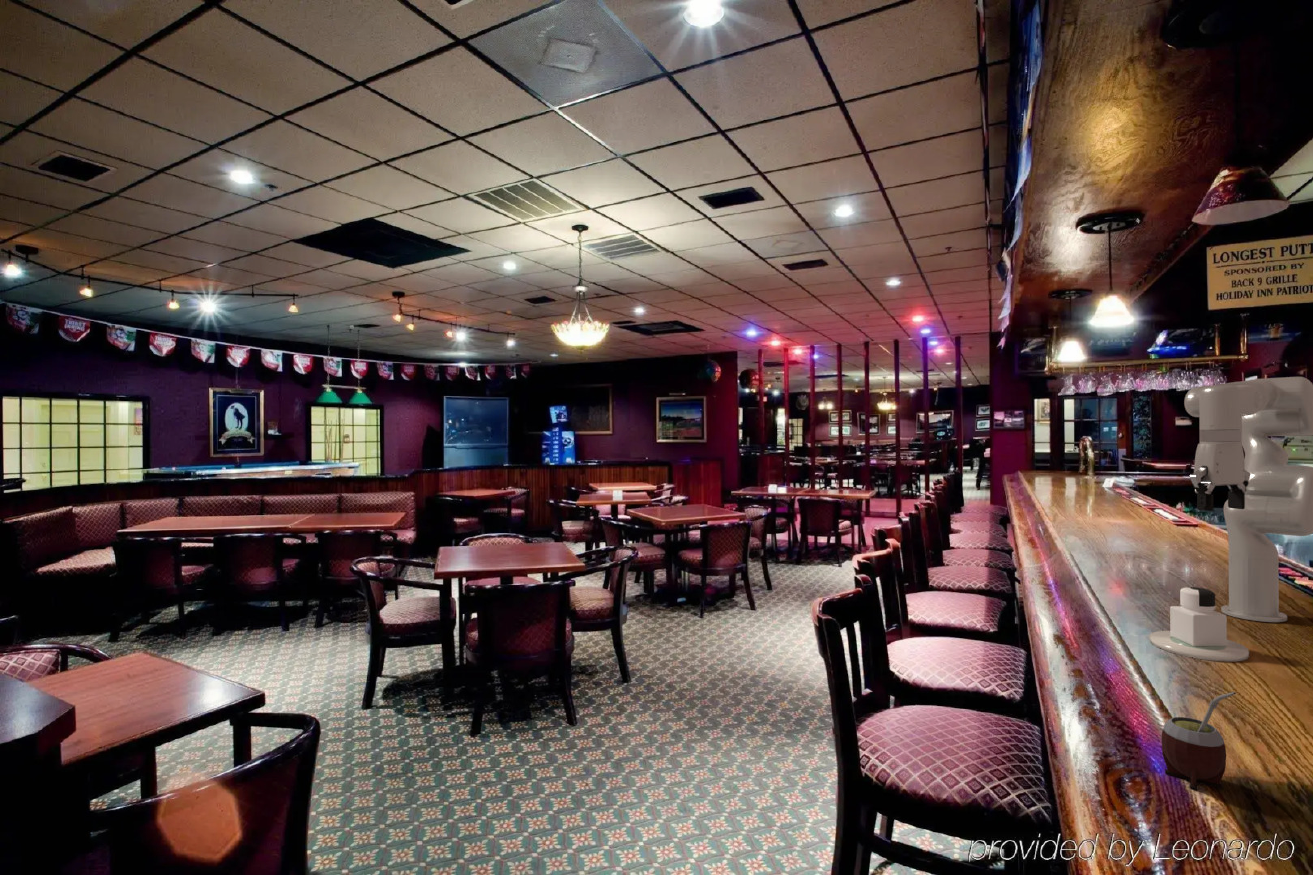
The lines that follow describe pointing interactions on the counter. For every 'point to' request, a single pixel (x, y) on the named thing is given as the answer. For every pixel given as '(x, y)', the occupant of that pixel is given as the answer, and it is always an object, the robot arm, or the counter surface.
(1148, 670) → the counter surface
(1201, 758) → the mate gourd
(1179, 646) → the plate
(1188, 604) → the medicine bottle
